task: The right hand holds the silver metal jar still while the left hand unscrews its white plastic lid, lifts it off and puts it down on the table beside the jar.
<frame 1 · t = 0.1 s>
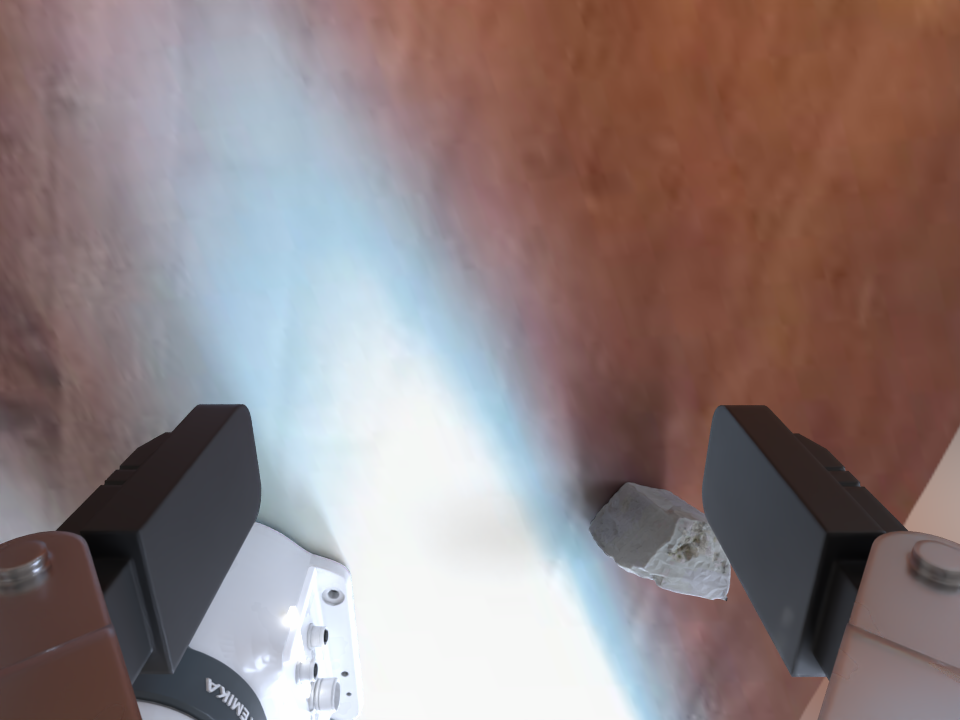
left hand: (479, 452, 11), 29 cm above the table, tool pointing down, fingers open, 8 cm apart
mineral specimen: (645, 501, 46), on the table
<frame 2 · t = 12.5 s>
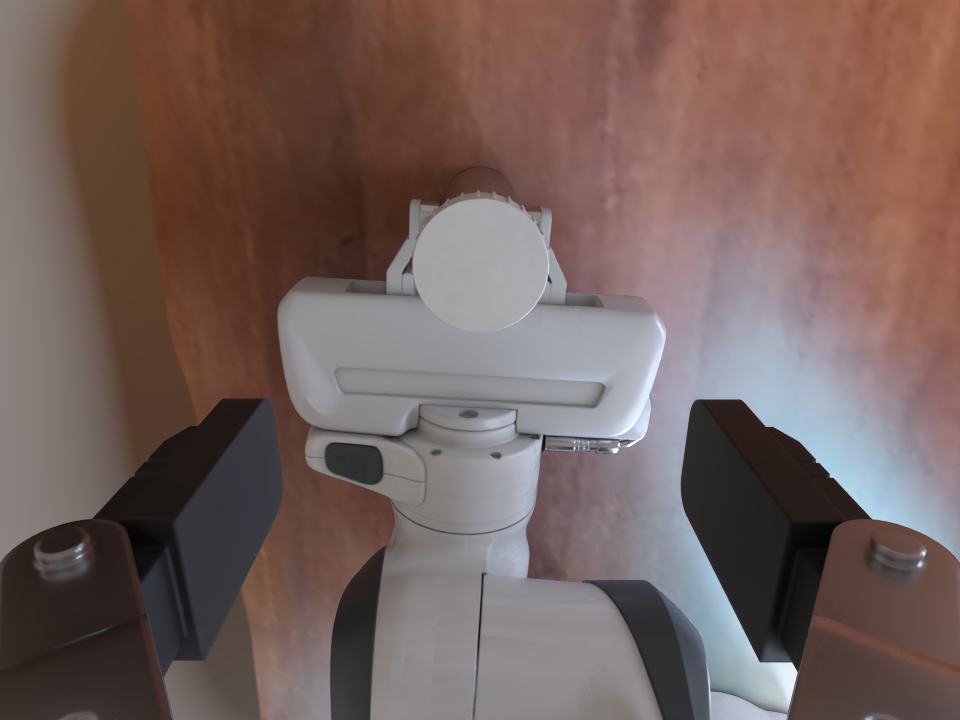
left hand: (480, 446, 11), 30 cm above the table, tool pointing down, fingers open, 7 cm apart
right hand: (480, 204, 32), fingers closed on jar, 4 cm apart
lid: (480, 265, 24), point 16 cm above the table, screwed on, not yet turned
jar: (479, 202, 39), on the table, touching right hand
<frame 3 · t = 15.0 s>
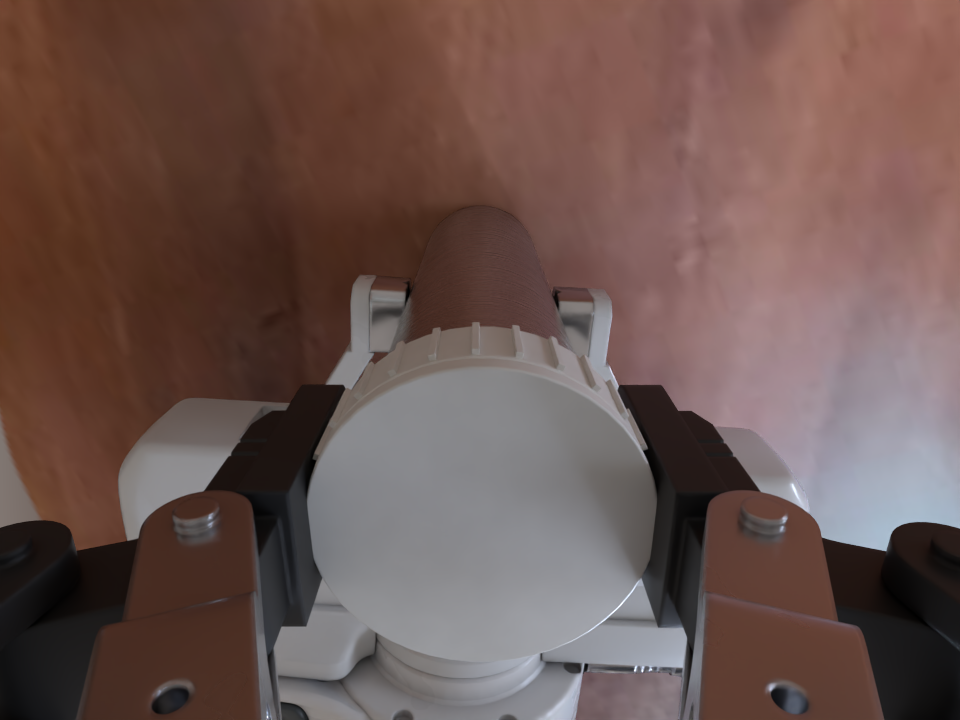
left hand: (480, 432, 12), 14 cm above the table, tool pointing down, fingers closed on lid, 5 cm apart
lid: (481, 515, 9), point 16 cm above the table, screwed on, not yet turned, touching left hand
jar: (480, 261, 24), on the table, touching right hand
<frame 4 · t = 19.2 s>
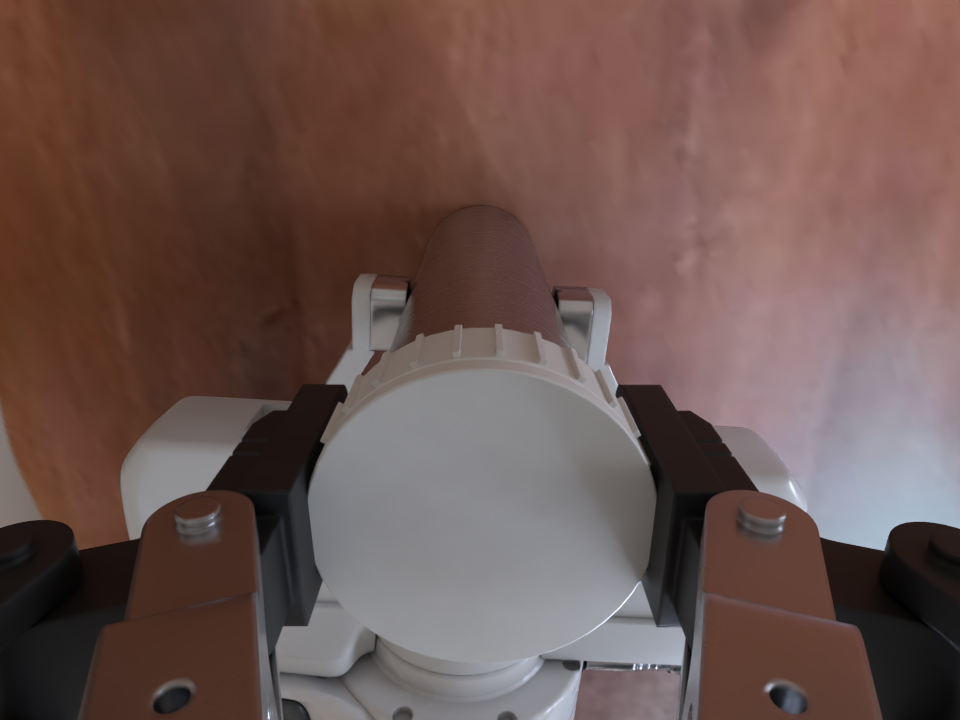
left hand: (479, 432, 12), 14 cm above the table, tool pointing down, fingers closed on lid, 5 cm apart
lid: (481, 517, 9), point 16 cm above the table, turned 112° so far, risen 0.1 cm, still on its thread, touching left hand
jar: (480, 260, 25), on the table, touching right hand
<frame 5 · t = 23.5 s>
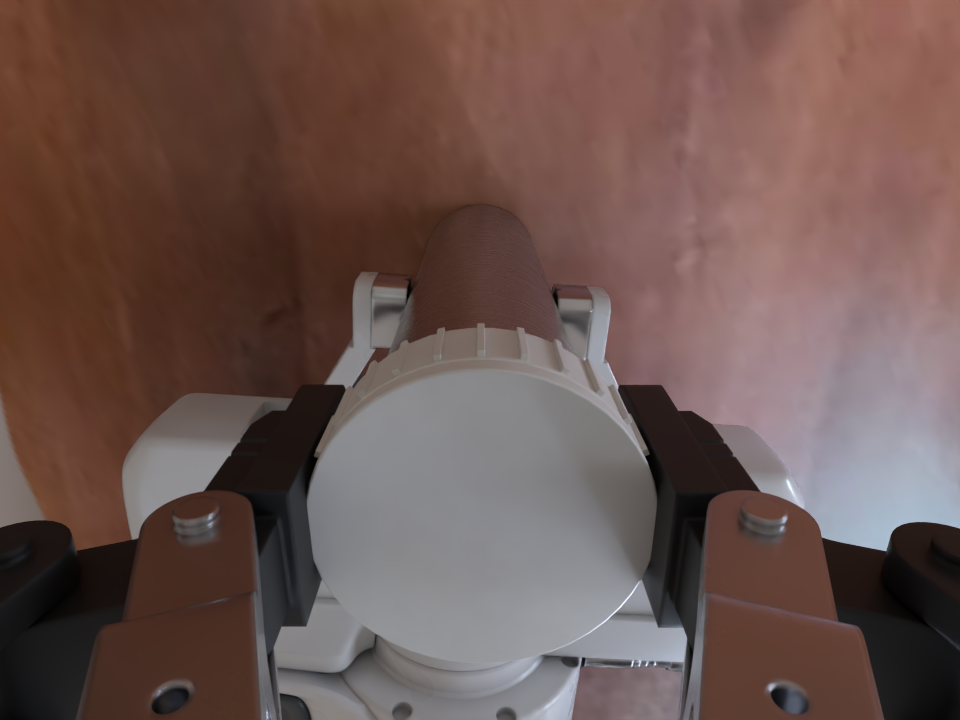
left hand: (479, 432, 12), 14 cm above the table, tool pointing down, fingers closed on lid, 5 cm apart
lid: (481, 517, 9), point 16 cm above the table, turned 225° so far, risen 0.3 cm, still on its thread, touching left hand
jar: (480, 259, 25), on the table, touching right hand
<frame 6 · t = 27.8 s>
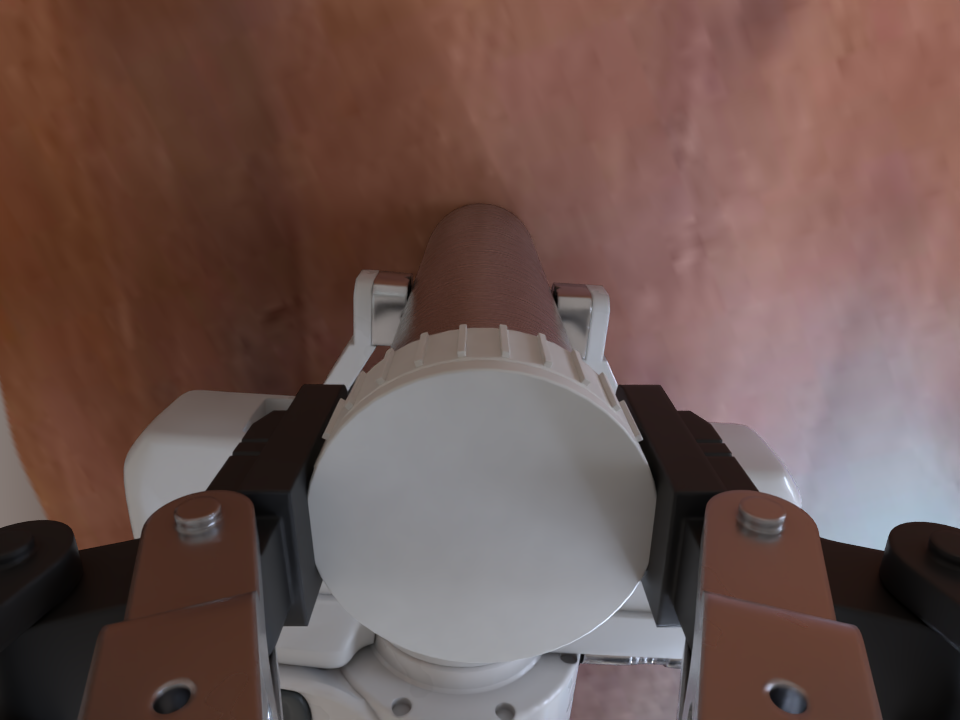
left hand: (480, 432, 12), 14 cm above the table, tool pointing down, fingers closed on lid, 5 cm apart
lid: (481, 517, 9), point 17 cm above the table, turned 337° so far, risen 0.4 cm, still on its thread, touching left hand
jar: (480, 258, 25), on the table, touching right hand
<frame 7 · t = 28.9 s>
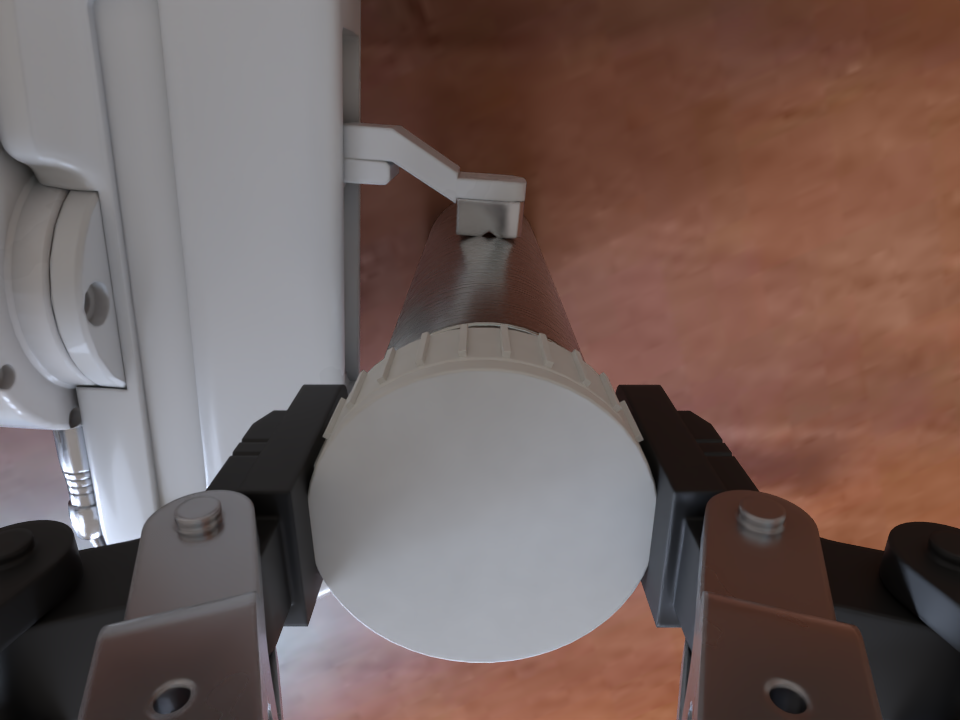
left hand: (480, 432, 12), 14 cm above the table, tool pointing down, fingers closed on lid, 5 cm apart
lid: (482, 516, 9), point 17 cm above the table, off its thread, touching left hand
jar: (481, 250, 25), on the table, touching right hand
when the left hand's fingers open (0 cm above the table, at t = 36.5 s): lid drops 2 cm, point 1 cm above the table.
when the right hand's fingers open (7 cm above the table, at t = 37.5 s): jar stays where it is, on the table.
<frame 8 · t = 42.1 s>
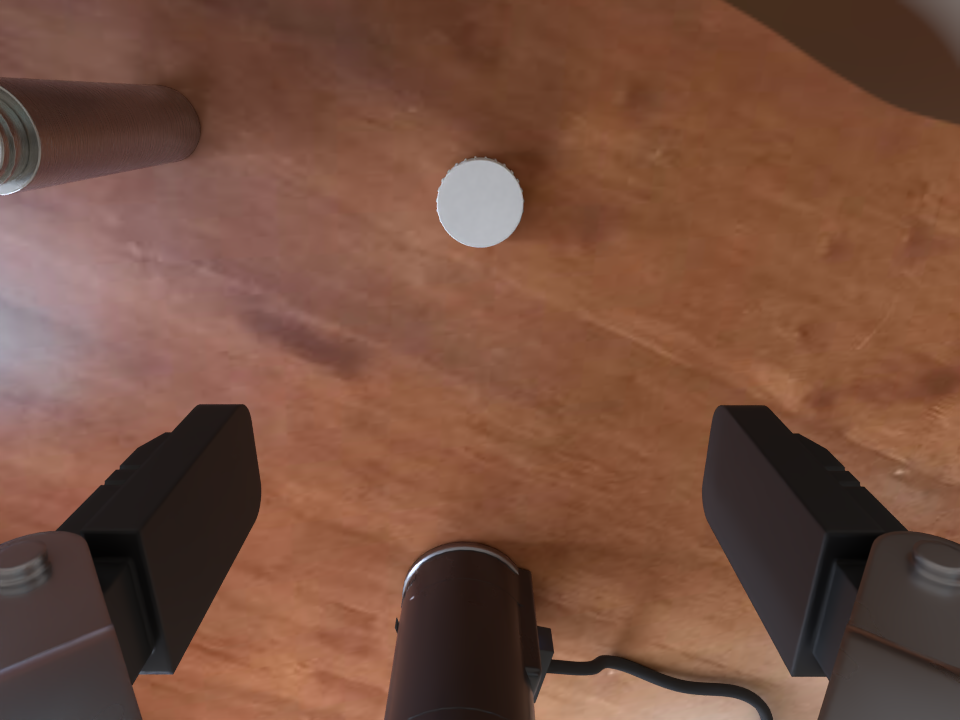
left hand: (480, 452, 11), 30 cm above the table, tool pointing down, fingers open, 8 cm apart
lid: (480, 203, 38), point 1 cm above the table, off its thread
jar: (164, 124, 37), on the table
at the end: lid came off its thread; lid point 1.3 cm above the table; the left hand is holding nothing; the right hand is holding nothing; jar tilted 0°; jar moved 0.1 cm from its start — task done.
